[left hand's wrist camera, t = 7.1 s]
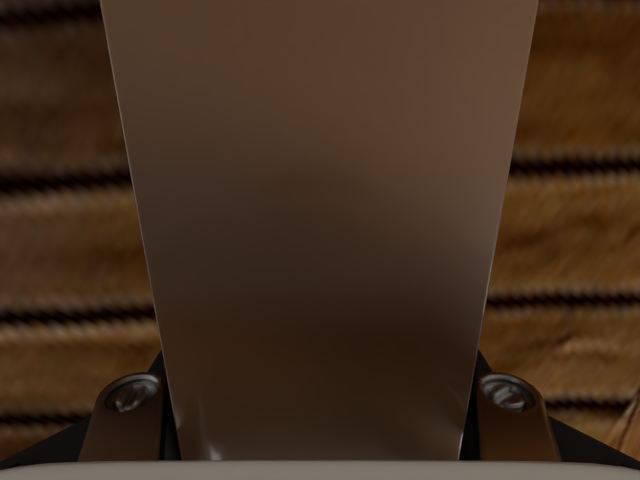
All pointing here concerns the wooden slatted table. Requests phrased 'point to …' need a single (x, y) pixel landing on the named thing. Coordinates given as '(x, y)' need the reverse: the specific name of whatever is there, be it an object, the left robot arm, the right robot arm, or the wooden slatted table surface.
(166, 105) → the beam
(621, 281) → the wooden slatted table surface
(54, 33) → the wooden slatted table surface
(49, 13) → the wooden slatted table surface
